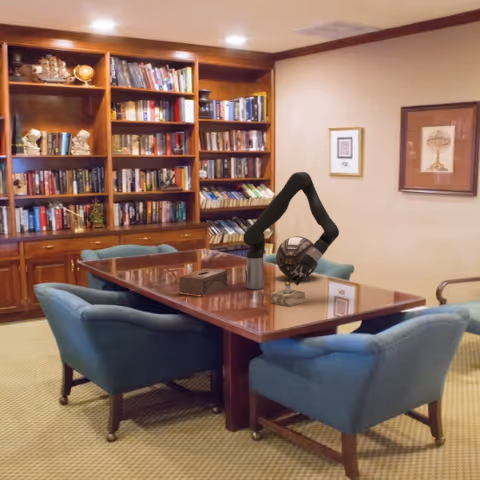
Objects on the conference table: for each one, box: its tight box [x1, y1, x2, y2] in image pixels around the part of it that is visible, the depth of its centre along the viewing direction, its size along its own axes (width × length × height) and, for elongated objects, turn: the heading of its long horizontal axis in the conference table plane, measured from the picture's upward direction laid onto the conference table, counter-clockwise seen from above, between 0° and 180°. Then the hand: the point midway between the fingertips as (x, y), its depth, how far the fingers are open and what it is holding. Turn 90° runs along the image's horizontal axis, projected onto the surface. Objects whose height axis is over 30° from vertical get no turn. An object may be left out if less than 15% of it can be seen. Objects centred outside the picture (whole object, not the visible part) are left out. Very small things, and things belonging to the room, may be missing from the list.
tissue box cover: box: [178, 268, 228, 296], centre depth 331 cm, size 26×14×10 cm, turn 150°
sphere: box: [275, 235, 319, 280], centre depth 357 cm, size 25×25×25 cm
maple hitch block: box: [270, 288, 306, 307], centre depth 301 cm, size 12×12×5 cm
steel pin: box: [284, 281, 292, 294], centre depth 300 cm, size 3×3×10 cm
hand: (291, 282), depth 300 cm, fingers open, 8 cm apart
